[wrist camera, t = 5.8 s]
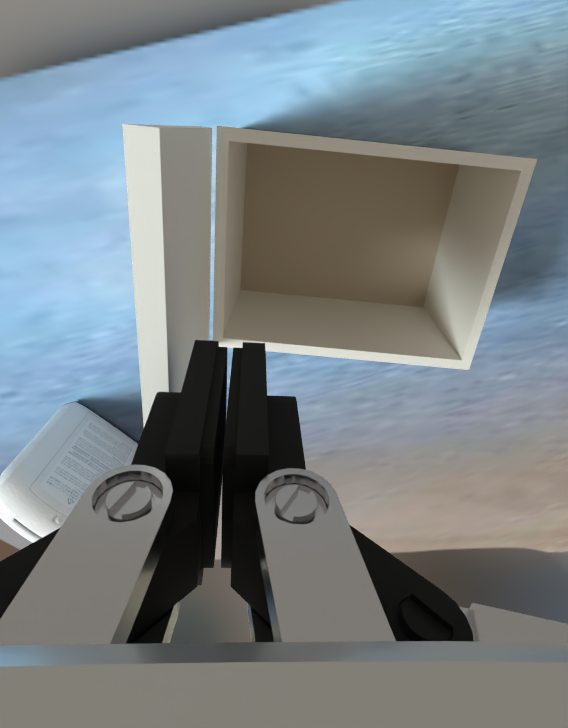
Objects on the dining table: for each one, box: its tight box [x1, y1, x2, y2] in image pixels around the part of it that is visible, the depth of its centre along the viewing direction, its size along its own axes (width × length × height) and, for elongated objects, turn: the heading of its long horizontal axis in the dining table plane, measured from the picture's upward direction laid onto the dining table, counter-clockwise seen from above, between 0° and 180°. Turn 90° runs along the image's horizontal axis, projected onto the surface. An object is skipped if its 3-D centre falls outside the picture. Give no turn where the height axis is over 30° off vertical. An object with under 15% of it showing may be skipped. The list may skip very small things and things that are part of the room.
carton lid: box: [123, 124, 212, 427], centre depth 17 cm, size 16×12×1 cm
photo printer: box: [0, 402, 138, 543], centre depth 38 cm, size 10×4×12 cm, turn 46°
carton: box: [213, 126, 537, 370], centre depth 29 cm, size 16×12×10 cm
